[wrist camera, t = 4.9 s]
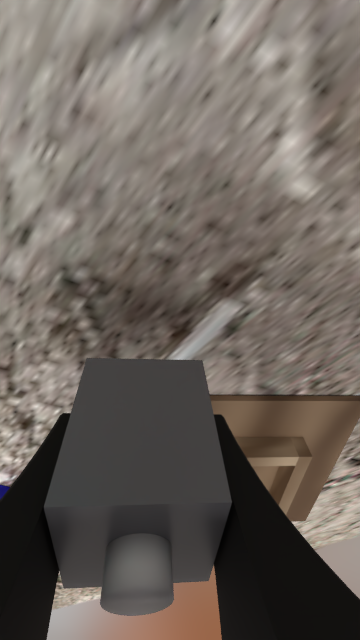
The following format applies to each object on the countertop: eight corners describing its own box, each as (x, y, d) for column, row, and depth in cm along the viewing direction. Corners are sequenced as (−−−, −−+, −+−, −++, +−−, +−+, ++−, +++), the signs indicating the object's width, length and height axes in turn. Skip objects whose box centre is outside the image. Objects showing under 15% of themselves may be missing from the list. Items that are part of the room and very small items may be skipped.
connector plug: (202, 360, 11) (242, 554, 6) (190, 435, 13) (214, 628, 8) (86, 357, 11) (27, 563, 6) (93, 436, 13) (54, 638, 8)
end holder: (364, 395, 23) (382, 419, 21) (303, 515, 31) (312, 540, 29) (140, 395, 21) (139, 420, 19) (138, 521, 29) (137, 548, 28)
